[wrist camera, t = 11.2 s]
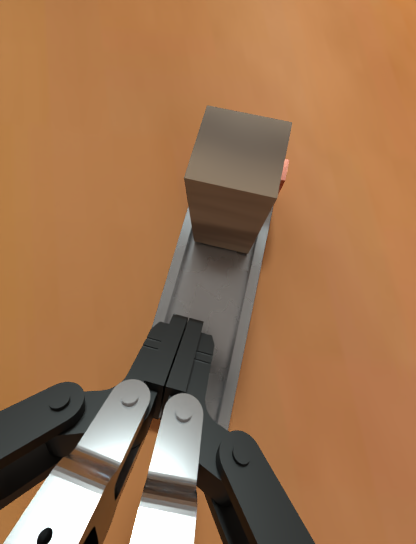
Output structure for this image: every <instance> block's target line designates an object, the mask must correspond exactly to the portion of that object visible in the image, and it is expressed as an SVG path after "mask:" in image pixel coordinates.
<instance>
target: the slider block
mask: <svg viewBox="0 0 416 544" xmlns="http://www.w3.org/2000/svg"><path fill="white" fill-rule="evenodd" d="M291 126H292V122H288V121H283V120H278V119H273V118H268V117H263V116H258V115H253V114H248V113H243V112H238V111H233V110H227V109H222V108H217V107H212V106H207V107H206V111H205V114H204V117H203V120H202V123H201V126H200V129H199V133H198V136H197V139H196V142H195V145H194V148H193V151H192V155H191V158H190V161H189V164H188V167H187V170H186V173H185V177H184V180H185V187H186V193H187V200H188V206H189V212H190V219H191V225H192V232H193V238H194V241H195V242H200V243H204V244H208V245H212V246H217V247H221V248H225V249H229V250H233V251H238V252H242V253H246V254H248V253H249V251H250V249H251V247H252V245H253V243H254V242H255V240H256V238H257V236H258V234H259V232H260V230H261V228H262V226H263V224H264V222H265V220H266V219H267V217H268V215H269V213H270V211H271V209H272V207H273V205H274V203H275V201H276V199H277V196H278V191H279V186H280V181H281V176H282V171H283V166H284V161H285V156H286V151H287V146H288V141H289V136H290V131H291Z"/></svg>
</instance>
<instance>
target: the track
mask: <svg viewBox="0 0 416 544" xmlns="http://www.w3.org/2000/svg"><path fill="white" fill-rule="evenodd" d="M288 163H289V160H287V159H285V161H284V166H283V171H282V176H281V181H280V186H279V191H278V194H279V192H280V190H281V188H282V186H283V184H284V182H285V179H286V174H287V169H288ZM272 210H273V207H272V209H271V211H270V213H269V215H268V217H267V219H266V220H265V222H264V224H263V226H262V228H261V230H260V232H259V234H258V236H257V238H256V240H255V242H254V243H253V245H252V247H251V249H250V251H249V253H248V254H246V253H242V252H238V251H233V250H229V249H225V248H221V247H217V246H212V245H208V244H204V243H200V242H195V241H194V238H193V232H192V225H191V219H190V212H189V206H188V210H187V213H186V216H185V220H184V223H183V226H182V230H181V233H180V236H179V240H178V243H177V246H176V249H175V253H174V256H173V259H172V263H171V266H170V269H169V273H168V276H167V279H166V283H165V286H164V289H163V292H162V296H161V299H160V302H159V306H158V309H157V312H156V316H155V319H154V322H153V326H152V327H154V326H155V325H156V324H157V323H159V322H164V323H168V324H169V323H170V320H171V318H172V316H173V314H177V315H181V316H185V317H188V320H189V318H193V319H196V320H200V321H204V323H203V327H202V331H201V332H202V333H205V334H209V335H212V338H213V341H214V351H213V356H212V362H211V368H210V373H209V379H208V385H207V390H206V396H205V405H206V409H207V411H208V413H209V415H210V416H211V418H212V419H213V420H214V421H215V422H216V423H218V424H219V425H220V426H222V427H223V428H225V429H226V430H227V431H228V427H229V422H230V417H231V412H232V407H233V402H234V397H235V392H236V387H237V382H238V377H239V372H240V368H241V363H242V358H243V353H244V348H245V343H246V338H247V333H248V328H249V323H250V318H251V313H252V308H253V304H254V299H255V294H256V289H257V284H258V279H259V274H260V269H261V264H262V259H263V254H264V249H265V244H266V239H267V235H268V230H269V225H270V220H271V215H272ZM161 410H162V409H161ZM160 416H161V412H160V415H159V418H160Z"/></svg>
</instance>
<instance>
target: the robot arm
mask: <svg viewBox="0 0 416 544" xmlns="http://www.w3.org/2000/svg"><path fill="white" fill-rule="evenodd" d="M203 323H204V321H200V320H196V319H193V318H189V320H188V317H185V316H181V315H177V314H173V316H172V318H171V320H170V323H169V324H168V323H164V322H159V323H157V324H156V325H155V326H154V327H152V329H151V330H150V332H149V334H148V336H147V339H146V340H145V342H144V344H143V346H142V348H141V350H140V351H139V353H138V355H137V357H136V359H135V361H134V363H133V365H132V367H131V369H130V371H129V373H128V374H127V376H126V378H125V379H124V380H123V381H122V382H121V383H119V384H118V385H117V386H115V387H113V388H111V389H108V390H102V391H87V392H83V389H82V388H81V387H80V386H79V385H78V384H76V383H73V382H63V383H59V384H56V385H54V386H52V387H50V388H48V389H46V390H44V391H41V392H39V393H37V394H35V395H33V396H31V397H29V398H27V399H25V400H23V401H21V402H19V403H17V404H14V405H12V406H10V407H8V408H6V409H4V410H2V411H0V510H1V509H2V508H4V507H5V506H7V505H8V504H9V503H11V502H12V501H14V500H15V499H17V498H18V497H20V496H21V495H22V494H24V493H25V492H27V491H28V490H30V489H31V488H33V487H34V486H35V485H37V484H38V483H40V482H41V481H43V480H44V479H46V478H47V479H46V480H45V482H44V483H43V485H42V486H41V488H40V489H39V491H38V492H37V494H36V495H35V497H34V498H33V500H32V501H31V503H30V504H29V506H28V507H27V509H26V510H25V512H24V513H23V515H22V516H21V518H20V519H19V521H18V522H17V524H16V525H15V527H14V528H13V530H12V531H11V533H10V534H9V536H8V537H7V539H6V540H5V542H4V543H3V544H103V542H104V540H105V537H106V535H107V533H108V530H109V528H110V525H111V522H112V520H113V517H114V514H115V510H116V507H117V504H118V501H119V499H120V496H121V494H122V492H123V489H124V487H125V485H126V482H127V480H128V478H129V475H130V473H131V471H132V468H133V466H134V463H135V461H136V459H137V456H138V454H139V452H140V449H141V447H142V445H143V442H144V440H145V437H146V435H147V432H148V429H149V427H150V424H151V421H152V418H155V419H159V415H160V412H161V416H160V420H161V423H160V427H159V431H158V435H157V439H156V443H155V447H154V451H153V456H152V460H151V464H150V468H149V472H148V476H147V480H146V483H145V486H144V490H143V493H142V497H141V501H140V505H139V509H138V513H137V517H136V521H135V525H134V529H133V533H132V538H131V542H130V544H194V536H195V525H196V514H197V493H196V486H197V487H198V488H200V489H201V490H202V491H203V492H204V494H205V497H206V500H207V503H208V505H209V508H210V511H211V513H212V516H213V519H214V521H215V524H216V526H217V529H218V532H219V534H220V537H221V540H222V542H223V544H315V543H314V541H313V539H312V537H311V536H310V534H309V532H308V531H307V529H306V527H305V525H304V524H303V522H302V520H301V519H300V517H299V515H298V513H297V512H296V510H295V508H294V506H293V505H292V503H291V501H290V500H289V498H288V496H287V494H286V493H285V491H284V489H283V488H282V486H281V484H280V482H279V481H278V479H277V477H276V476H275V474H274V472H273V470H272V469H271V467H270V465H269V463H268V462H267V460H266V458H265V457H264V455H263V453H262V451H261V450H260V448H259V446H258V445H257V443H256V442H255V440H254V439H253V438H252V437H251V436H250V435H248V434H247V433H245V432H243V431H231V432H229V431H227V430H226V429H225V428H223V427H222V426H220V425H219V424H218V423H216V422H215V421H214V420H213V419H212V418H211V416H210V415H209V413H208V411H207V409H206V405H205V396H206V390H207V385H208V379H209V373H210V368H211V362H212V356H213V351H214V341H213V338H212V335H209V334H205V333H202V332H201V331H202V327H203ZM161 409H162V410H161Z"/></svg>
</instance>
